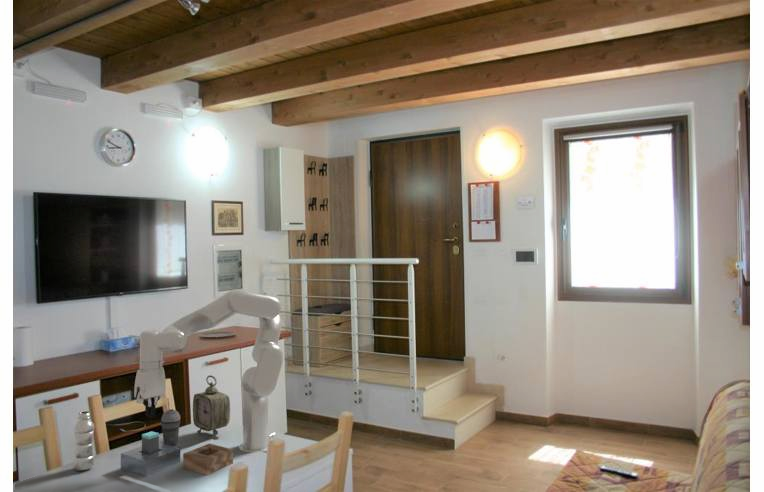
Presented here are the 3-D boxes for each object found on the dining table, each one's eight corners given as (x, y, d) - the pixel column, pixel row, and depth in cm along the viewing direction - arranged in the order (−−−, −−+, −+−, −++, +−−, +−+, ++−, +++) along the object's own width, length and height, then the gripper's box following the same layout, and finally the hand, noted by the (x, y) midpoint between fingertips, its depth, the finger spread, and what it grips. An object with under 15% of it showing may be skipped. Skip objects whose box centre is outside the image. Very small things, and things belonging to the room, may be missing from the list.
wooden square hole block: (209, 459, 208) (209, 443, 208) (233, 466, 202) (233, 449, 202) (183, 470, 198) (183, 453, 198) (207, 478, 192) (207, 460, 192)
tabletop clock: (192, 434, 235) (192, 374, 235) (211, 428, 242) (211, 371, 242) (212, 442, 226) (212, 380, 226) (231, 436, 233) (231, 376, 233)
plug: (151, 461, 203) (151, 431, 203) (158, 463, 201) (158, 433, 201) (141, 465, 200) (141, 434, 200) (149, 467, 198) (149, 436, 198)
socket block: (154, 457, 210) (154, 441, 210) (180, 465, 203) (180, 448, 203) (120, 470, 198) (120, 453, 198) (146, 478, 191) (146, 461, 191)
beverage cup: (173, 454, 213) (174, 401, 213) (156, 452, 214) (156, 400, 214) (184, 447, 220) (184, 396, 220) (167, 446, 221) (167, 395, 221)
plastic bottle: (87, 464, 203) (87, 409, 203) (98, 468, 200) (98, 412, 199) (69, 470, 197) (69, 413, 197) (80, 474, 194) (80, 416, 194)
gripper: (161, 360, 208) (160, 409, 208) (125, 367, 195) (124, 420, 195) (175, 362, 205) (174, 413, 205) (139, 370, 192) (138, 424, 192)
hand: (150, 416), depth 200 cm, fingers closed
